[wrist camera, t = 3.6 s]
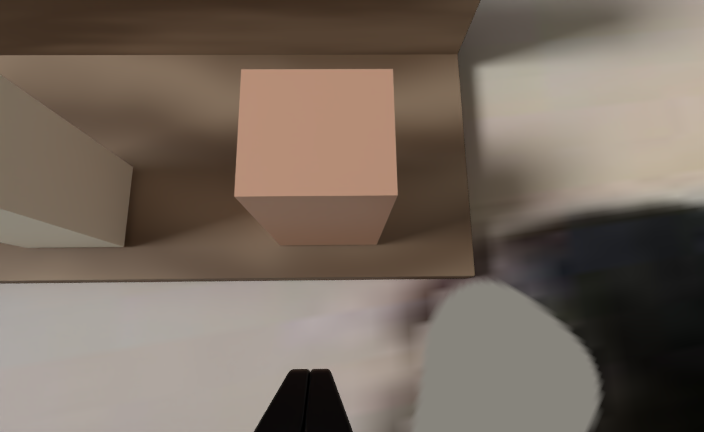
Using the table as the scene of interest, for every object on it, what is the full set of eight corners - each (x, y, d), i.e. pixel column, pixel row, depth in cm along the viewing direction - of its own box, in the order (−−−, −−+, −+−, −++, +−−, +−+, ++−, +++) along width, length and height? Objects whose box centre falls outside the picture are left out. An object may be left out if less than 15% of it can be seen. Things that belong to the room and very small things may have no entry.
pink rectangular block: (376, 244, 20) (397, 195, 12) (280, 245, 20) (234, 196, 12) (374, 165, 21) (393, 69, 13) (282, 166, 21) (241, 69, 13)
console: (466, 278, 22) (651, 220, 8) (-291, 286, 21) (-1350, 238, 8) (447, 25, 25) (559, -295, 12) (-204, 25, 24) (-839, -311, 11)
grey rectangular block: (123, 246, 20) (-34, 198, 12) (25, 247, 20) (-202, 199, 12) (132, 167, 21) (-7, 69, 13) (39, 167, 21) (-164, 70, 13)
